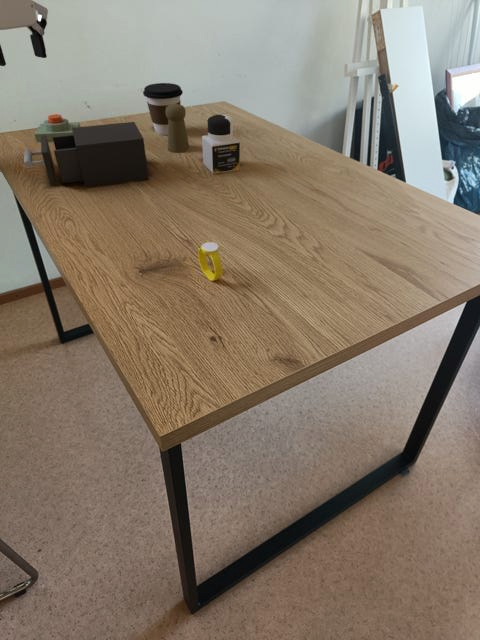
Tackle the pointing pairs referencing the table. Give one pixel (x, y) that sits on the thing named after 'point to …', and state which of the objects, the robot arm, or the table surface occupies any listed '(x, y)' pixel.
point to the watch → (212, 250)
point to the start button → (55, 119)
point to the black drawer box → (111, 154)
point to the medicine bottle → (221, 145)
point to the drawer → (58, 159)
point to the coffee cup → (161, 103)
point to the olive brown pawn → (176, 128)
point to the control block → (55, 129)
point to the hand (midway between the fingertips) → (21, 60)
